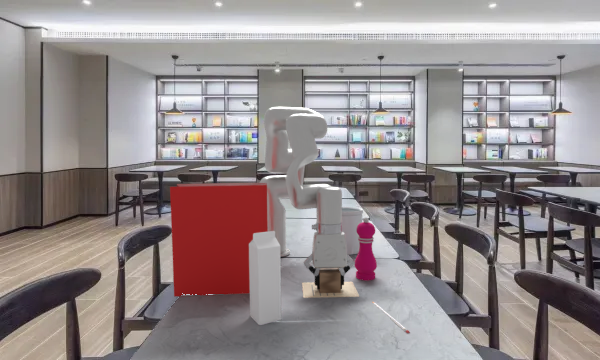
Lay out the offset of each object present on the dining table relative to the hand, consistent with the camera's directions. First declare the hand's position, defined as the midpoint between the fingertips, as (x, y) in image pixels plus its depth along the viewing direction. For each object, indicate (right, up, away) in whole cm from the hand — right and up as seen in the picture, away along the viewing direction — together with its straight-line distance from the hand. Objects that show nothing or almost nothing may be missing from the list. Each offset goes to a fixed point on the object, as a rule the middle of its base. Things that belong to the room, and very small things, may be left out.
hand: (329, 286), depth 113 cm
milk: (-18, -3, -18) cm, 25 cm away
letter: (0, -1, 0) cm, 1 cm away
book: (-32, -1, +1) cm, 32 cm away
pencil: (+14, -3, -17) cm, 22 cm away
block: (0, -1, 0) cm, 1 cm away
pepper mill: (+13, 0, +10) cm, 16 cm away
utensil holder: (+10, +3, +43) cm, 44 cm away
